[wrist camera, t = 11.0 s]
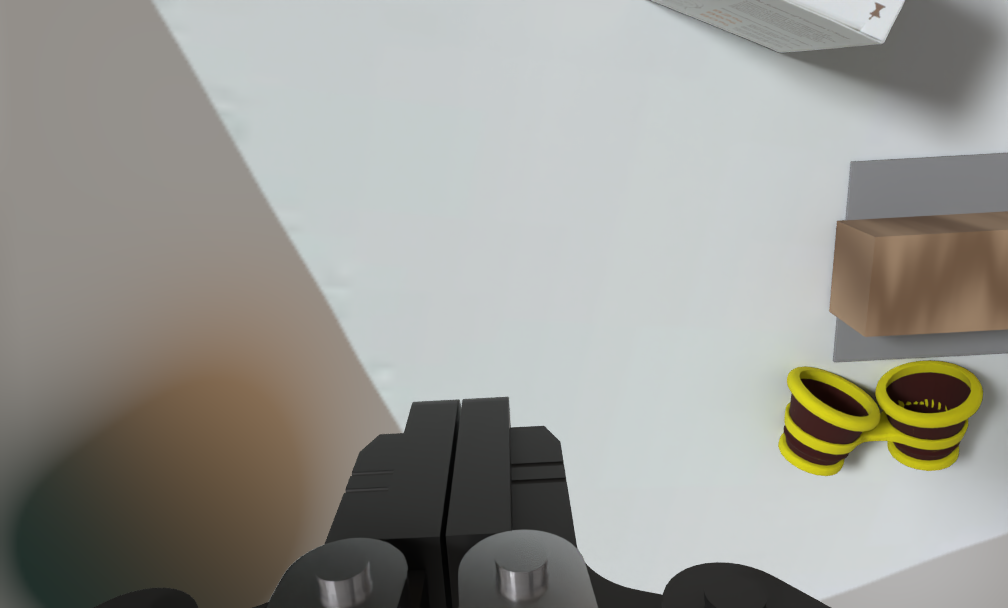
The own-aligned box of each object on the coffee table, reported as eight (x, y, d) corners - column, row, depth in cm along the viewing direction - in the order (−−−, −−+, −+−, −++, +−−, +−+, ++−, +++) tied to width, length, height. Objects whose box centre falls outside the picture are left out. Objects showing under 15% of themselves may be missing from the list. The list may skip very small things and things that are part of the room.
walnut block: (875, 237, 33) (1112, 224, 33) (837, 220, 37) (1049, 209, 37) (864, 337, 35) (1091, 325, 35) (829, 311, 39) (1033, 300, 39)
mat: (850, 161, 37) (852, 162, 36) (1107, 147, 36) (1110, 147, 36) (832, 360, 40) (834, 362, 40) (1067, 348, 40) (1070, 349, 39)
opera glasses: (763, 431, 42) (794, 491, 38) (774, 357, 40) (809, 412, 35) (928, 423, 42) (978, 482, 38) (950, 348, 40) (1007, 402, 35)
